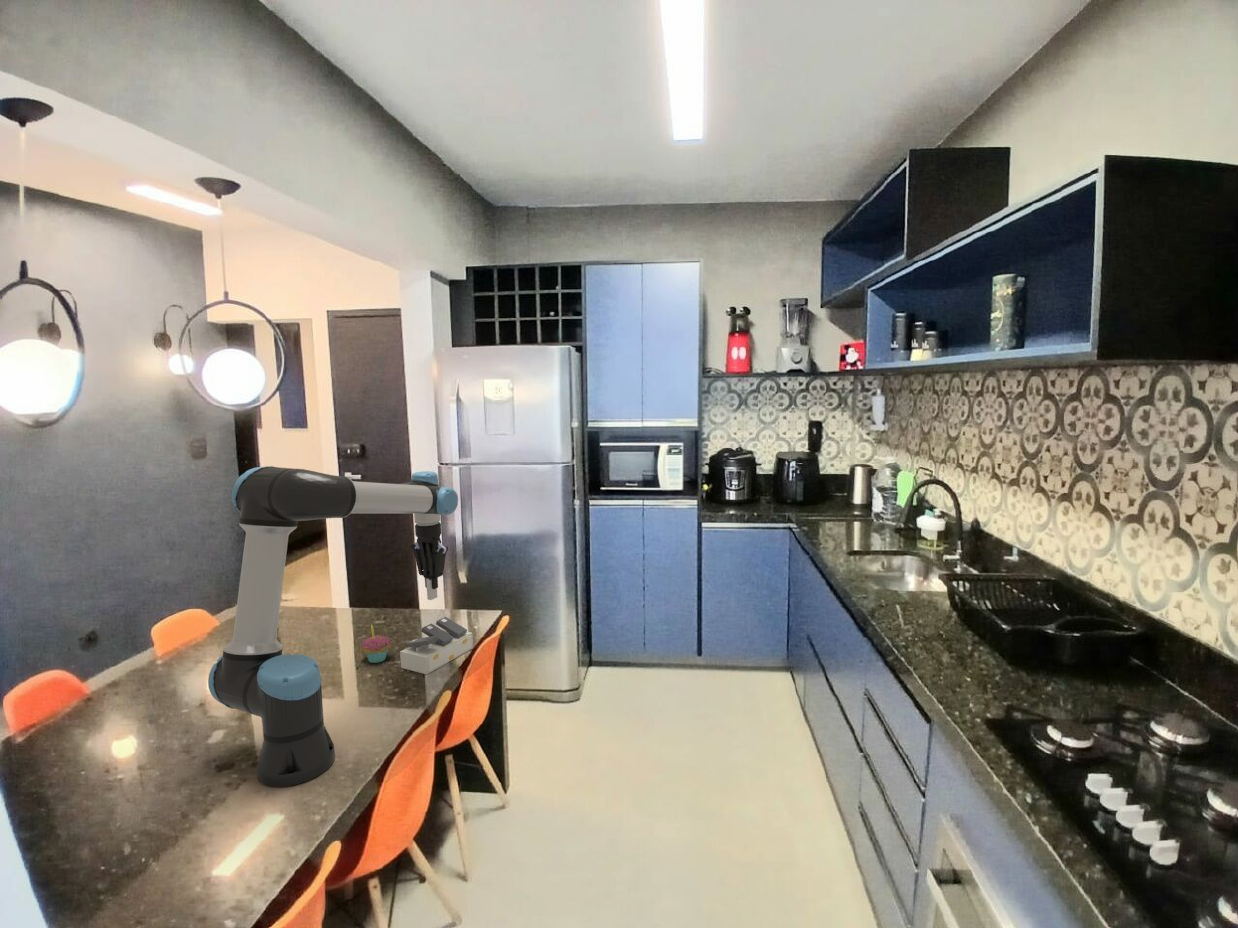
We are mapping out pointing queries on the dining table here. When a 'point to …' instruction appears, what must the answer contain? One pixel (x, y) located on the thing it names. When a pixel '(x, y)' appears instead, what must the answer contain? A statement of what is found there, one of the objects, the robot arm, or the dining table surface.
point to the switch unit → (435, 653)
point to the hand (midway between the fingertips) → (432, 598)
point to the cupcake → (376, 647)
